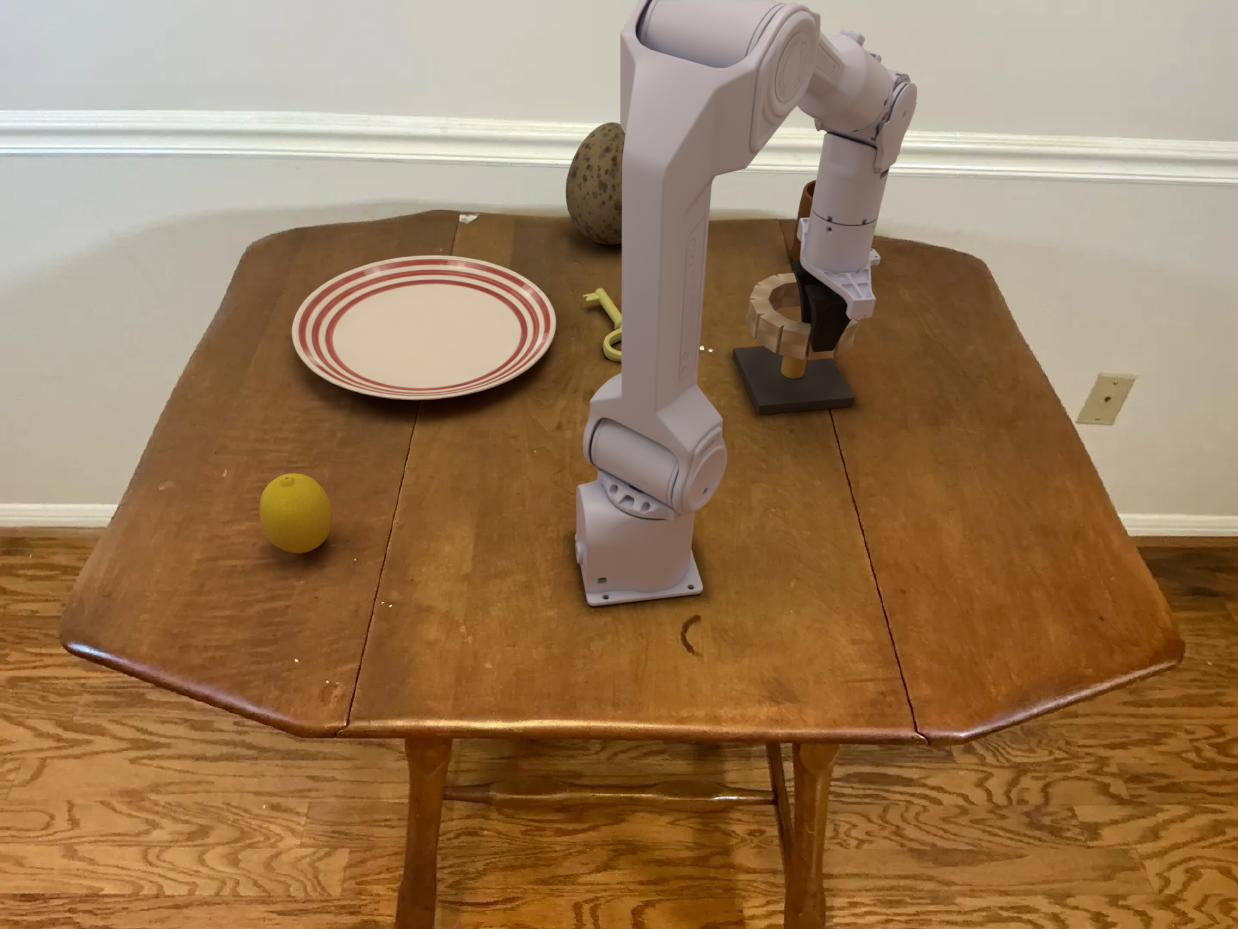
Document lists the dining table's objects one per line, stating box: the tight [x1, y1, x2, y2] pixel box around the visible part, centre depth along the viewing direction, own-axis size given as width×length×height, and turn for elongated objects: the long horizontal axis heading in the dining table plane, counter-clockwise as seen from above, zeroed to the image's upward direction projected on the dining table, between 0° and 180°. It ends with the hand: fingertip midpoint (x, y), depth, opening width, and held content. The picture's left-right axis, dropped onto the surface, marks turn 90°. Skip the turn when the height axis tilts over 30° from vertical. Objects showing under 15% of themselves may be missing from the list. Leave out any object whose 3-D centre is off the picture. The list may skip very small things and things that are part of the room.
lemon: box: [259, 472, 334, 554], centre depth 77 cm, size 6×6×8 cm
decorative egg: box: [565, 121, 625, 245], centre depth 115 cm, size 11×11×15 cm
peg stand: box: [731, 345, 856, 416], centre depth 97 cm, size 10×10×6 cm
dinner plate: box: [291, 254, 557, 401], centre depth 101 cm, size 28×27×3 cm
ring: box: [746, 272, 862, 360], centre depth 93 cm, size 11×11×3 cm
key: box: [582, 287, 622, 363], centre depth 104 cm, size 7×12×2 cm, turn 43°
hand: (818, 341), depth 90 cm, fingers closed on ring, 2 cm apart
